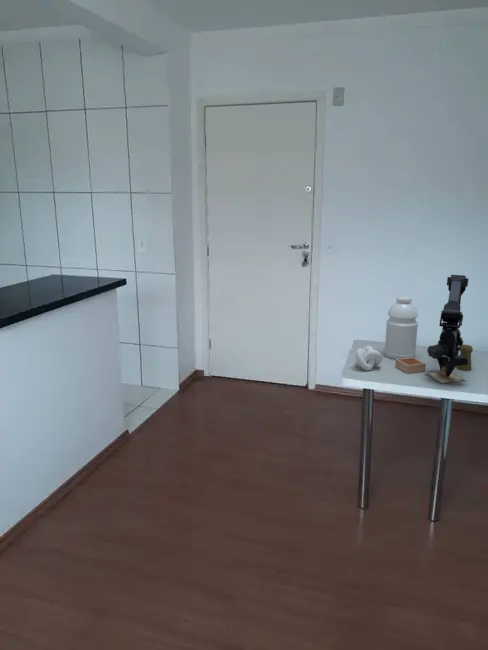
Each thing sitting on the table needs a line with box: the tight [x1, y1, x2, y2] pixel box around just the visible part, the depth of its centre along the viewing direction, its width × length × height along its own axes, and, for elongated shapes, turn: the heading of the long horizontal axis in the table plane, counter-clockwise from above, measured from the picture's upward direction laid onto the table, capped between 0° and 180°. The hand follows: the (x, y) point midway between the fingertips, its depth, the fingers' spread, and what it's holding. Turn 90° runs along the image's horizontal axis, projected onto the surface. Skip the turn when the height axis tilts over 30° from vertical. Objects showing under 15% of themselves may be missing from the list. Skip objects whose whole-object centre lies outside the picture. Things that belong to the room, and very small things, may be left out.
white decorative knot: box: [355, 345, 383, 372], centre depth 228 cm, size 11×12×9 cm
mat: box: [423, 373, 467, 385], centre depth 216 cm, size 12×12×1 cm
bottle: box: [384, 295, 419, 360], centre depth 242 cm, size 14×14×28 cm
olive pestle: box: [456, 344, 474, 372], centre depth 225 cm, size 6×6×11 cm
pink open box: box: [394, 357, 427, 375], centre depth 225 cm, size 9×9×4 cm
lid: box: [426, 365, 464, 383], centre depth 215 cm, size 10×10×5 cm
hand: (445, 374), depth 216 cm, fingers closed on lid, 3 cm apart
